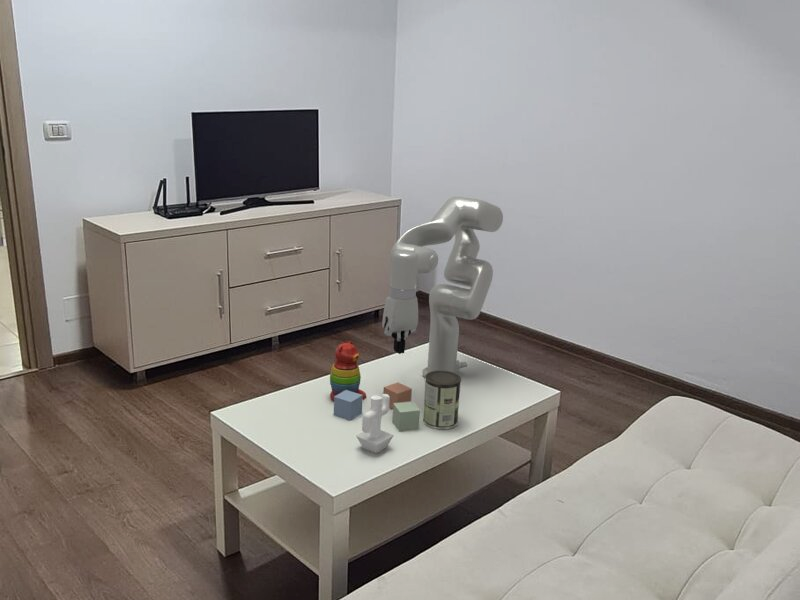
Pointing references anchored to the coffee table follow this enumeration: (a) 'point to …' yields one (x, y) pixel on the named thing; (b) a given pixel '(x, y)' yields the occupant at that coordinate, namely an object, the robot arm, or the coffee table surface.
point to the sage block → (406, 416)
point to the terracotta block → (397, 393)
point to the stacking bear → (345, 371)
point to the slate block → (348, 405)
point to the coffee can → (441, 399)
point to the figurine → (375, 425)
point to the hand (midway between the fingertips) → (399, 352)
